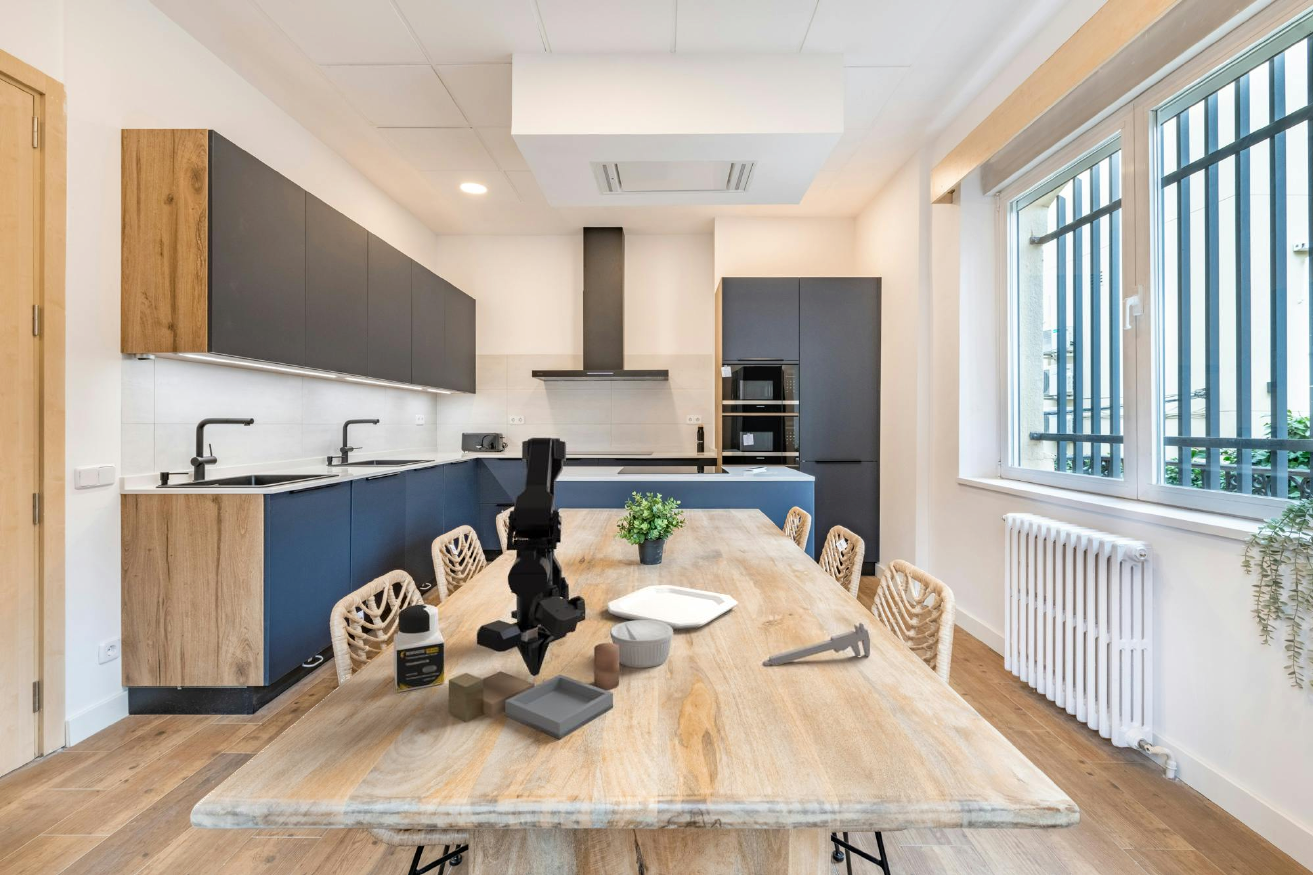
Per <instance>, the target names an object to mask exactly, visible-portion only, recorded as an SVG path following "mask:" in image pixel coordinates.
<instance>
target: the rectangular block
mask: <svg viewBox="0 0 1313 875" xmlns="http://www.w3.org/2000/svg"><path fill="white" fill-rule="evenodd" d="M448 714H449V716H452V717H454V718H456V719H459V720H461V721H462V722H465V723H467V722H469V721H472V720H474V719H476V718H478V717H479V716H482V715H484V714H483V678H480V677H478V676H475V675H473V674H471V673H469V672H465V673H463V674H460V675H457V676H455V677H452V678H450V679H448Z"/></svg>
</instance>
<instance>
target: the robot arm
mask: <svg viewBox="0 0 1313 875" xmlns="http://www.w3.org/2000/svg"><path fill="white" fill-rule="evenodd" d="M521 460H522V461H523V462H526V463H525V464H526V465H525V467H526V476H525V483H524V490H523V491H522V492H521V493H519V494H518V495H517V496H516V497H515V501H514V506H513V510H510V511H509V515H508V516H509V517H508V529H507V537H506V538H507V539H506V541H507V542H506V551H516V554H515V555H516V557H515V560H514V562H513V564H512V566H511V567H510V570H509V572H508V576H507V585H508V587H509V589H510V591H511V594H514V595H516V598H515V599H516V601H515V602H516V610H512V611H511V612H510V614H511V615H510V617H511V619H515V620H516V622H513V623H510V622H506V621H503V620H500V619H499V620H495V621H493V622H492V621H491V622H489V623H485V624H483V625H481V626H480V627H479V628H478V630H477V632H476V645H479V646H481V647H484V648H486V649H489V650H492V651H494V652H495V651H496V652H498V653H499V652H500V653H501V652H505V651H508V650H511V649H513V648H516V649H517V650H518V651H519V653H520V655H521V657H522V659H523V661H524V664H525V666H526V668H527V670H528V672H529V674H530V675H531V676H533V677H536V676H538V675H539V674H540V671H541V669H542V665H543V662H544V659H545V658H546V657H545V656H546V653H547V651H548V649H549V648H548V647H550V646H549V645H550V644H551V642H554V641H555V640H558V639H560V638H563V637H565V636H566V637H567V635H568V634H570V633H574V632H576V629H577V626H578V623H580V622H583V621H585V620H586V600H585V598H584V597H582V596H581V595H576V596H573V597H571V598H570V590H569V589H570V588H569V585H570V584H569V583H568V582H567V580H566V577H565V576H563V568H562V566H561V564H560V562H559V560H558V559H557V557H556V555H555V550H557V547H558V544H559V543H561V541H562V522H563V520H562V516H561V515H560V511H559V509H555V508H556V503H555V502H556V482H557V479H558V478H559V476H560V475H561V473H562V471H563V467H564V466H563V465H564V462H566V460H567V444H566V442H565V441H563V440H561V438H559V437H558V438H557V437H556V438H555V437H554V438H553V437H531V438H529V439H527V440H524V441H523V440H522V441H521Z"/></svg>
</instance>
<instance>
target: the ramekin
mask: <svg viewBox="0 0 1313 875" xmlns="http://www.w3.org/2000/svg"><path fill="white" fill-rule="evenodd" d="M673 636H674V629H672V628H671V627H670V626H669V625H668V624H665V623H663V622H658V621H651V620H630V621H629V620H628V621H624V622H620V623H618V624H616V625H614V626H613V627H612V628H611V629H610V638H611V641H612V643H613V644H616V645H618V646H619V664H621V665H623V666H625V667H629V668H637V669H644V668H645V669H646V668H651V667H652V668H653V667H657V666H659V665H662V664H663V663H664V662H665V661H666V660H667V659H668V658H669V655H670V650H671V645H672V639H673Z"/></svg>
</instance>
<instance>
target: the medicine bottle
mask: <svg viewBox="0 0 1313 875" xmlns="http://www.w3.org/2000/svg"><path fill="white" fill-rule="evenodd" d="M397 617H398V633H395V634H393V679H394V686H395V691H396V692H397V693H401V692H406V691H412V690H419V689H423V688H428V687H432V686H438V685H439V686H440V685H443V684H444V683H445V640H444V638H443V636H442V634H441V631H440V629H439V609H438V607H436V606H435V605H432V604H424V603H423V604H413V605H410V606H407V607H405V608H403V609H401V610H400V611H399V613H398V616H397Z"/></svg>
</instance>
